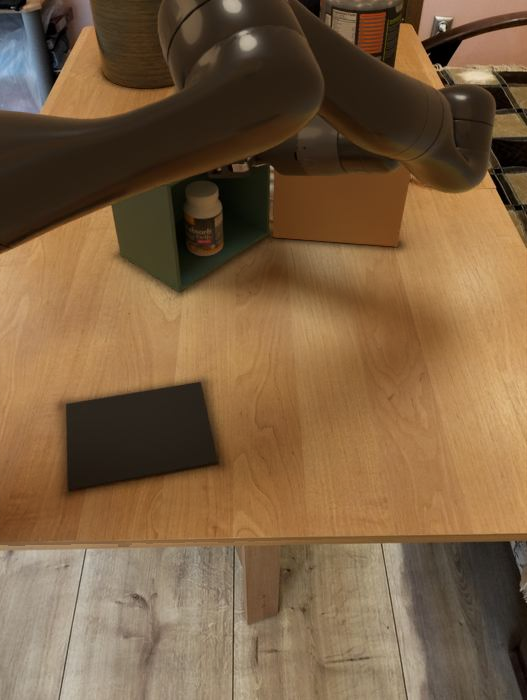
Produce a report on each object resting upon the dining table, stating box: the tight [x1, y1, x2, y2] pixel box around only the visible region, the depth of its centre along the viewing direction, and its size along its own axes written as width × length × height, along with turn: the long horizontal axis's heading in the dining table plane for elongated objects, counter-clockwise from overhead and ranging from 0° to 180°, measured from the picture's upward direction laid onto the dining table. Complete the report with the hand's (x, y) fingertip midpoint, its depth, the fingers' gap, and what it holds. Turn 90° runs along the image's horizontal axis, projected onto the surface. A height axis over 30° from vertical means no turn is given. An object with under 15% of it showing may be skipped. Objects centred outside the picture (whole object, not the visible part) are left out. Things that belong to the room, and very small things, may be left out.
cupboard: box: [110, 163, 270, 293], centre depth 93 cm, size 13×19×17 cm
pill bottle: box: [183, 181, 223, 256], centre depth 94 cm, size 6×6×10 cm
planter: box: [88, 0, 175, 89], centre depth 139 cm, size 22×22×20 cm
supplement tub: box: [319, 0, 404, 69], centre depth 127 cm, size 16×16×26 cm
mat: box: [65, 381, 219, 493], centre depth 73 cm, size 16×12×1 cm
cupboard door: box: [272, 164, 412, 248], centre depth 95 cm, size 6×19×17 cm, turn 83°
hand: (207, 144), depth 84 cm, fingers open, 8 cm apart
